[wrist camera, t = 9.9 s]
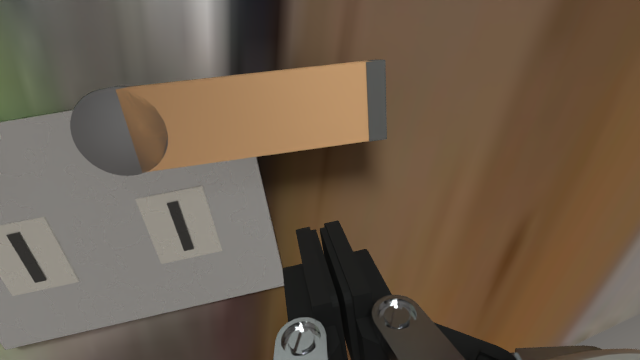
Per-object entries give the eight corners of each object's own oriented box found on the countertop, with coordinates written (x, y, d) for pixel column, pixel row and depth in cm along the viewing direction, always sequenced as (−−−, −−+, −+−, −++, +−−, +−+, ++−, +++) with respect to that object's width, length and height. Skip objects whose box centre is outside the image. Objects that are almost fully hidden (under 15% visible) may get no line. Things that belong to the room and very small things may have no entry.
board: (-128, 142, 21) (-187, 155, 18) (239, 82, 23) (236, 85, 21) (12, 342, 28) (-16, 373, 25) (285, 279, 30) (287, 301, 27)
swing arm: (102, 172, 21) (88, 182, 19) (71, 90, 19) (54, 94, 17) (377, 134, 23) (386, 140, 22) (375, 58, 21) (385, 58, 20)
